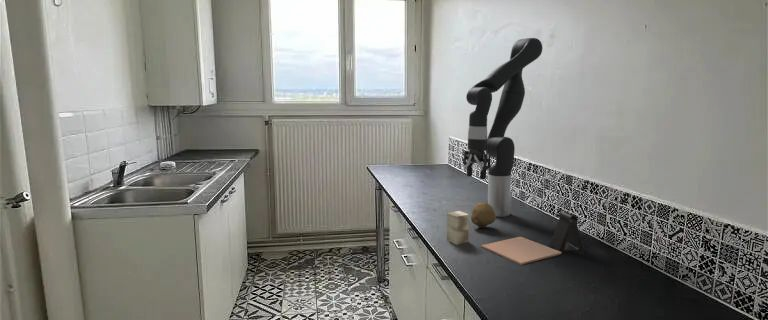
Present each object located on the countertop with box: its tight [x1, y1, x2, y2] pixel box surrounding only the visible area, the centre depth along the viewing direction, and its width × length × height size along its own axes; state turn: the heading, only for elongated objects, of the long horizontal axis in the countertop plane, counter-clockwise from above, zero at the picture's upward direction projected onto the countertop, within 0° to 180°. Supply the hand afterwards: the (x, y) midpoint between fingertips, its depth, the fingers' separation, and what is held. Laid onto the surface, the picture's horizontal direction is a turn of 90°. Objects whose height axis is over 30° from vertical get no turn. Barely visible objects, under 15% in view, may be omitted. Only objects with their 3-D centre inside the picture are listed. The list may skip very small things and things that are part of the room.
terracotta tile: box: [480, 236, 563, 266], centre depth 148 cm, size 18×18×1 cm
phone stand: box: [549, 210, 585, 253], centre depth 149 cm, size 9×6×12 cm, turn 99°
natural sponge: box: [470, 201, 496, 228], centre depth 172 cm, size 9×9×10 cm
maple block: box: [446, 210, 470, 245], centre depth 158 cm, size 5×5×10 cm
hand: (475, 177), depth 181 cm, fingers open, 8 cm apart
